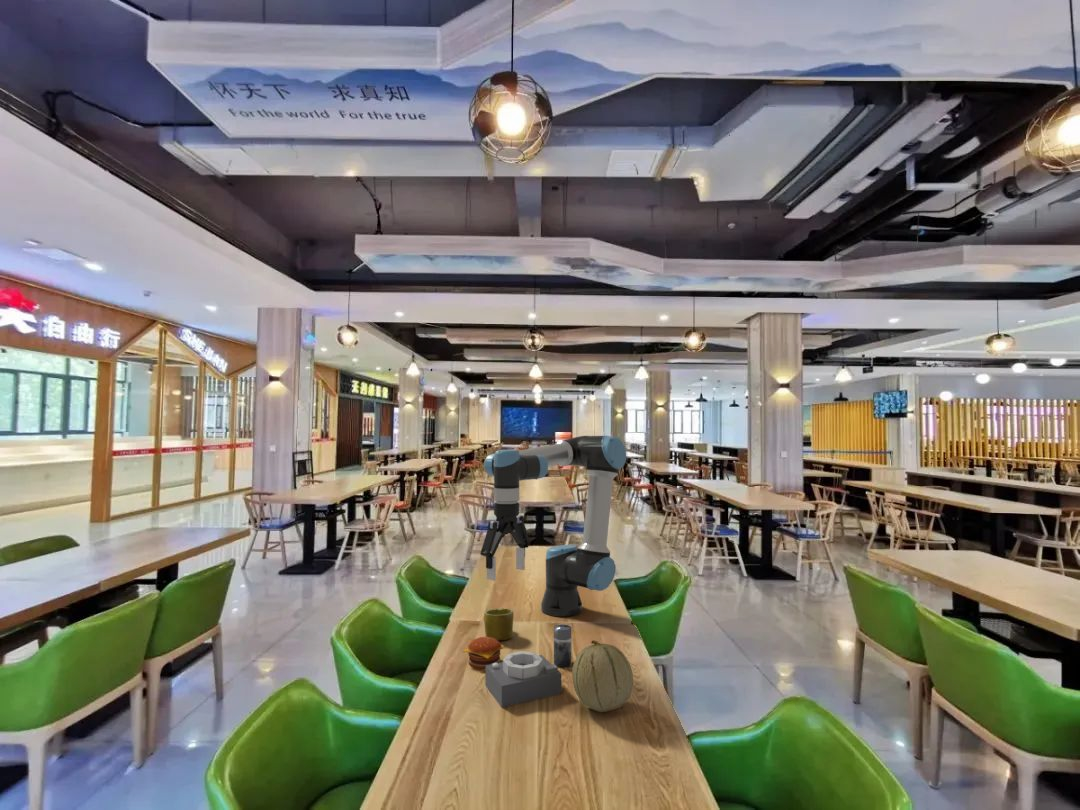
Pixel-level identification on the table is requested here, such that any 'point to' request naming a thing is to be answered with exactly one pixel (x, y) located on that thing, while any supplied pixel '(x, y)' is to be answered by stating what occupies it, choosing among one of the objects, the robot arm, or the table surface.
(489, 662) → the hamburger
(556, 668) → the camera body
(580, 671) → the cantaloupe
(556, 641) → the lens
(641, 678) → the table surface
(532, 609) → the table surface
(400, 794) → the table surface
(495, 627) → the mug
